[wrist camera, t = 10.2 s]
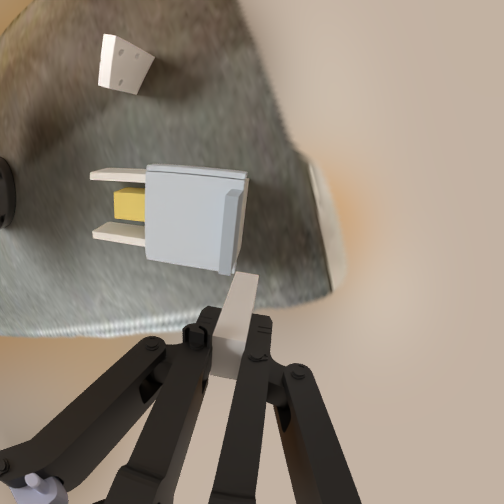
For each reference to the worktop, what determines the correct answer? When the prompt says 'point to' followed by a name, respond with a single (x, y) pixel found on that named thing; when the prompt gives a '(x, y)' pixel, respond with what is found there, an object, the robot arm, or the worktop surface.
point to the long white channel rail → (136, 232)
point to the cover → (193, 216)
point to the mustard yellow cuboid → (130, 204)
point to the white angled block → (122, 65)
